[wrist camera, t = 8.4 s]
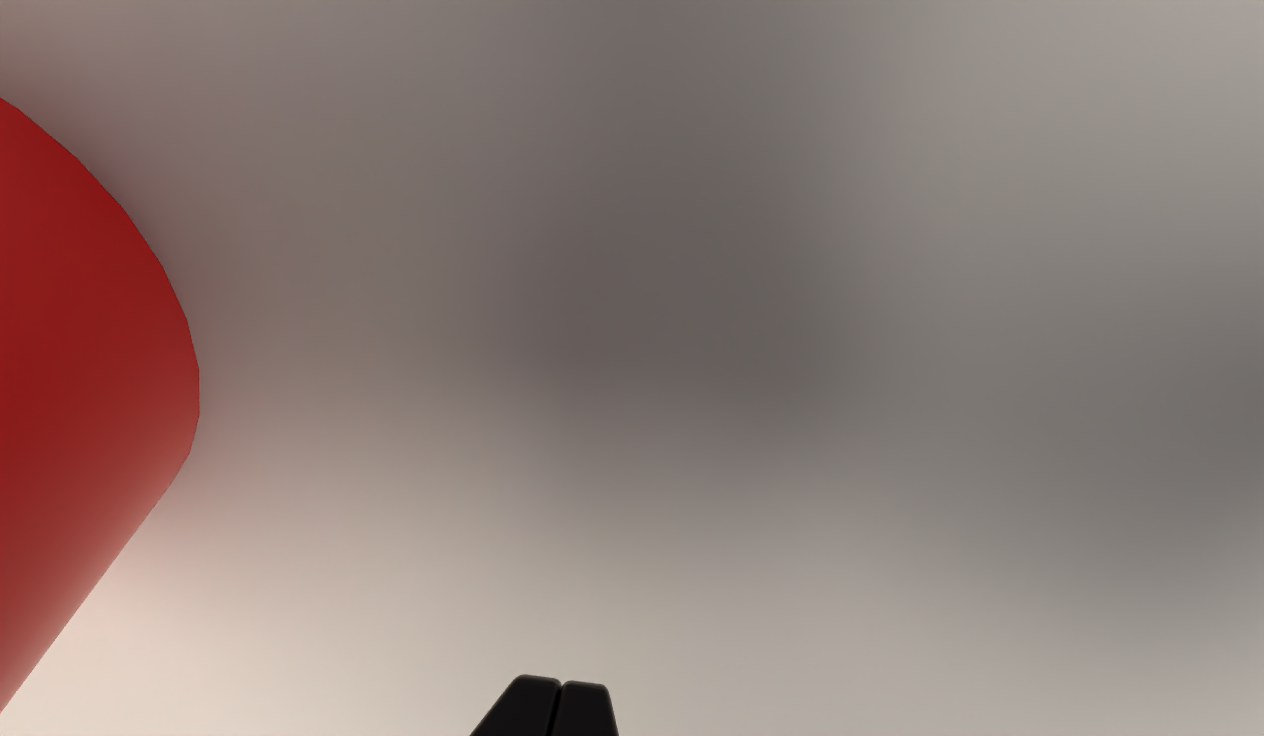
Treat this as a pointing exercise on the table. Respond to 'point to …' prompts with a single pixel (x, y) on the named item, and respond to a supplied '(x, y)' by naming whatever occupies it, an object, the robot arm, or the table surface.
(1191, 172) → the table surface
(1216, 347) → the table surface
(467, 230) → the table surface
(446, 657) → the table surface
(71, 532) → the mug
